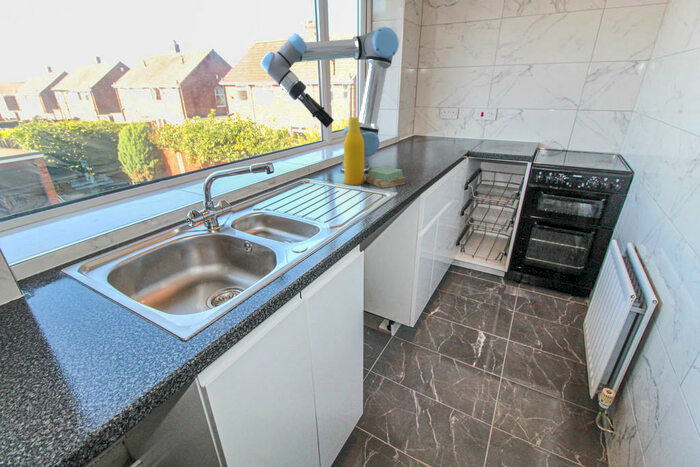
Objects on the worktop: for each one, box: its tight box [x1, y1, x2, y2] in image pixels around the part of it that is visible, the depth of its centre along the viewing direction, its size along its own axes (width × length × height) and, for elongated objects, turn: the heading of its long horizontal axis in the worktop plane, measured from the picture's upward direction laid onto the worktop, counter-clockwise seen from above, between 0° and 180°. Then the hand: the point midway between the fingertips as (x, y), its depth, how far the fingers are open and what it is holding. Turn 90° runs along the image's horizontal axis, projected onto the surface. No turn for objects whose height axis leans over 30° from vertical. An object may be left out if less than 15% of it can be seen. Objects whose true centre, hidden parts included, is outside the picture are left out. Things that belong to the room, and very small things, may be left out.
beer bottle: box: [343, 116, 365, 186], centre depth 148 cm, size 9×9×29 cm
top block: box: [368, 166, 403, 181], centre depth 151 cm, size 11×11×3 cm
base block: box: [365, 174, 406, 189], centre depth 153 cm, size 13×13×3 cm
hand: (330, 124), depth 143 cm, fingers open, 13 cm apart
